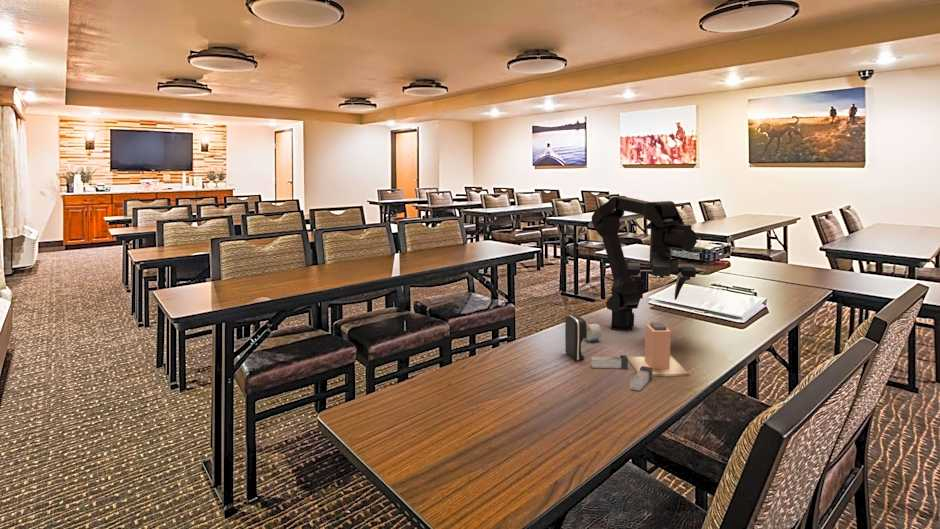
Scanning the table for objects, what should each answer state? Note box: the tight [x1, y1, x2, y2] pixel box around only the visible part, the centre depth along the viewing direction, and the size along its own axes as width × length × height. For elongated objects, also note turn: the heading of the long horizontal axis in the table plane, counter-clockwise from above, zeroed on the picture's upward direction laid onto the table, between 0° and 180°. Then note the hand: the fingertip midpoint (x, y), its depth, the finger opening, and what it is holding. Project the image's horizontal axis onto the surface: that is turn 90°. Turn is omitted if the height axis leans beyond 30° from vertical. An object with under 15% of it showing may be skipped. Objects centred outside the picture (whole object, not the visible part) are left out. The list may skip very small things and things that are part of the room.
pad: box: [627, 355, 690, 377], centre depth 136 cm, size 12×12×1 cm
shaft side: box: [590, 354, 629, 370], centre depth 137 cm, size 9×3×3 cm, turn 84°
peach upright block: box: [644, 322, 672, 369], centre depth 135 cm, size 6×4×11 cm
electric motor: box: [585, 323, 602, 343], centre depth 157 cm, size 7×5×5 cm
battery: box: [564, 314, 588, 361], centre depth 144 cm, size 7×4×11 cm, turn 14°
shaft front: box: [629, 366, 653, 392], centre depth 127 cm, size 9×3×3 cm, turn 144°
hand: (658, 298), depth 153 cm, fingers open, 9 cm apart
